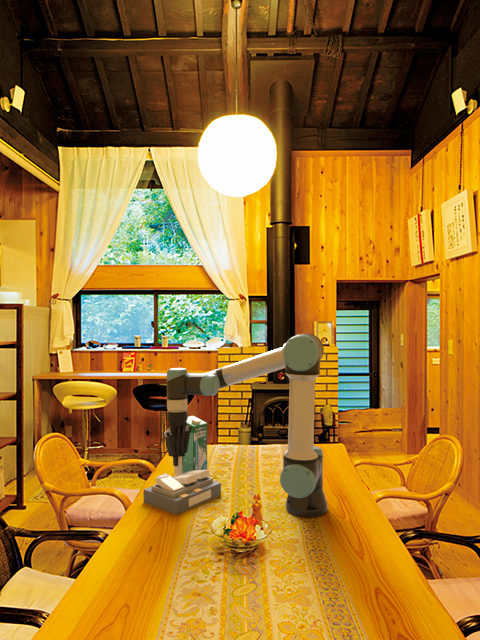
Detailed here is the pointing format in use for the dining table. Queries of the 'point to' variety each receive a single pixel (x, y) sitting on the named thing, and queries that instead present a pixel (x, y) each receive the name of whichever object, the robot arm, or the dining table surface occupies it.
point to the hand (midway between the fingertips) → (178, 473)
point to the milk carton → (196, 446)
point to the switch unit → (183, 495)
